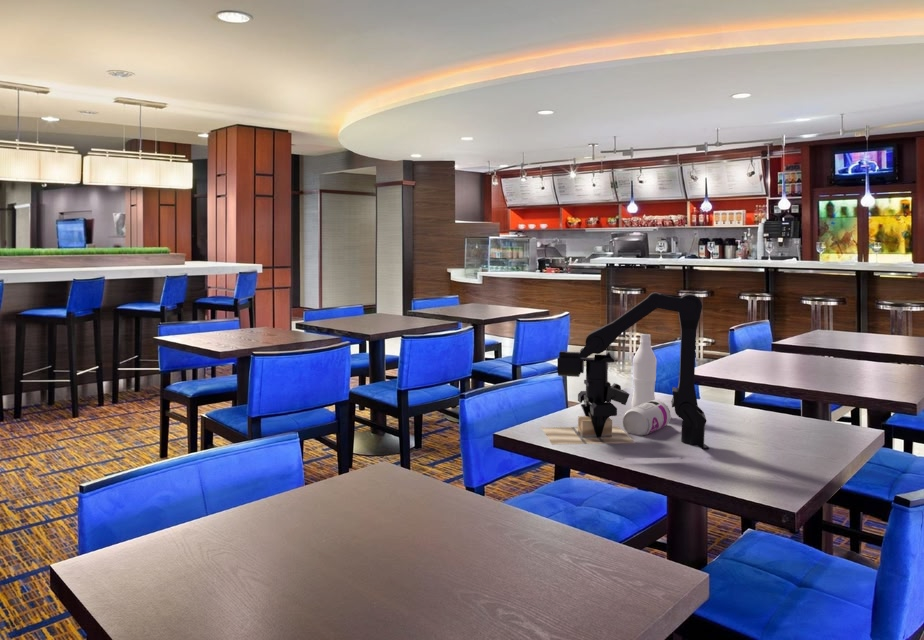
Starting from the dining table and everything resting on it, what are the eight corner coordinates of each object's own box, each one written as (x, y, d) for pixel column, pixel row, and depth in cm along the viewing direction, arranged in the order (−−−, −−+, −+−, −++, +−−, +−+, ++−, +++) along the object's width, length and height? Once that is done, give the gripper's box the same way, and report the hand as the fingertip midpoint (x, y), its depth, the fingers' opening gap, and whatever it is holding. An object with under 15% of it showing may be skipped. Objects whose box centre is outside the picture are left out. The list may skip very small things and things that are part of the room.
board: (635, 447, 175) (635, 442, 175) (551, 448, 174) (551, 444, 174) (618, 430, 191) (618, 426, 191) (541, 431, 190) (541, 427, 190)
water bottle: (657, 417, 206) (660, 336, 203) (634, 417, 206) (636, 336, 204) (651, 411, 213) (654, 333, 211) (629, 411, 213) (631, 333, 211)
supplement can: (676, 411, 191) (654, 421, 179) (662, 433, 194) (638, 445, 183) (653, 393, 195) (630, 402, 183) (639, 415, 198) (615, 425, 187)
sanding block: (611, 437, 180) (612, 420, 180) (582, 437, 180) (582, 421, 179) (606, 432, 185) (607, 415, 185) (577, 432, 185) (578, 416, 184)
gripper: (637, 383, 172) (636, 443, 174) (616, 370, 191) (615, 424, 192) (594, 384, 171) (593, 444, 173) (577, 371, 190) (577, 425, 192)
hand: (596, 434), depth 183 cm, fingers closed on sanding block, 5 cm apart
